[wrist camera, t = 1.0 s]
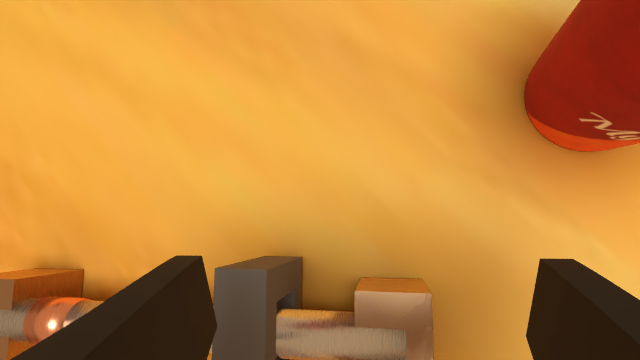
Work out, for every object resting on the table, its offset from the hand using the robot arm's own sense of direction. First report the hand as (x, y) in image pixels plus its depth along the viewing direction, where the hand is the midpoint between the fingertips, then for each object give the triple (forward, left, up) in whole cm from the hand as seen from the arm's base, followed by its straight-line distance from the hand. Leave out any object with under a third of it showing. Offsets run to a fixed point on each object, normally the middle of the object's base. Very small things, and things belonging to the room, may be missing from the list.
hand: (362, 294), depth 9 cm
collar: (-3, +5, -12) cm, 13 cm away
